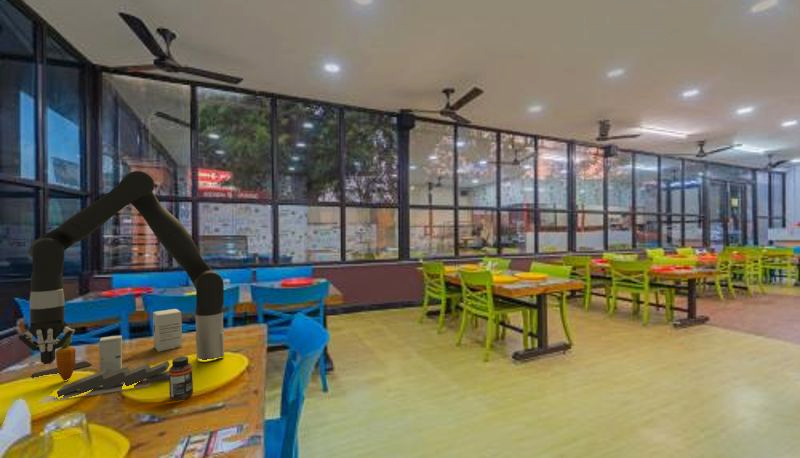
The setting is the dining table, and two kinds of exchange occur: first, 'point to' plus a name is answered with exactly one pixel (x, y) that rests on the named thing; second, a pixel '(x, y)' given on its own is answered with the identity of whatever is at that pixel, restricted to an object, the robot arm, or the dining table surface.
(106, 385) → the domino
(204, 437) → the dining table surface
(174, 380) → the supplement bottle
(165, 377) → the domino
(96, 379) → the domino far
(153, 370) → the domino
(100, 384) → the domino
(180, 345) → the supplement box
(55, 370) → the phone
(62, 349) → the carrot
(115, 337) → the skincare box
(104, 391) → the domino mat
